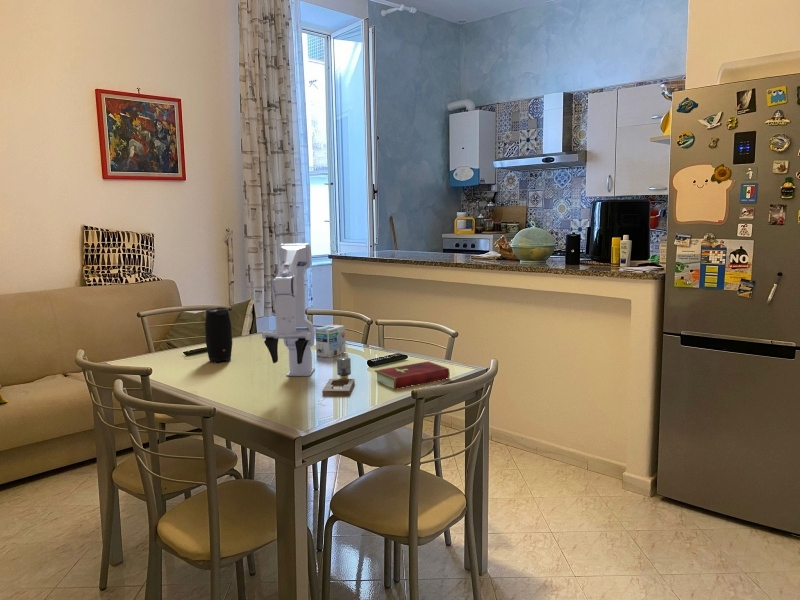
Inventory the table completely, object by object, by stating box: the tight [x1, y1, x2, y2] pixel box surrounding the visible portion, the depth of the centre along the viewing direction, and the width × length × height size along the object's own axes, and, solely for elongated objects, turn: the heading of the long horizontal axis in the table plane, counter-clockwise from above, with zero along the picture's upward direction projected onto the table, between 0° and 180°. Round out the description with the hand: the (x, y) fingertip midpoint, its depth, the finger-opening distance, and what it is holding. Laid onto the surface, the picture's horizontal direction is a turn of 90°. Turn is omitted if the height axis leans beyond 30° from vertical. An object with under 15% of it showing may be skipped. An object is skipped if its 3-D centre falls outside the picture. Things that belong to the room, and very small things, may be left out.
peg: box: [336, 356, 352, 379], centre depth 197 cm, size 4×4×7 cm
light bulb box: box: [315, 323, 347, 359], centre depth 232 cm, size 11×7×11 cm, turn 148°
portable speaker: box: [204, 306, 233, 363], centre depth 224 cm, size 9×9×20 cm
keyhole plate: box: [321, 378, 356, 397], centre depth 186 cm, size 13×8×2 cm, turn 177°
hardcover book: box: [374, 360, 450, 390], centre depth 196 cm, size 12×21×4 cm, turn 122°
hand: (287, 362), depth 179 cm, fingers open, 7 cm apart
